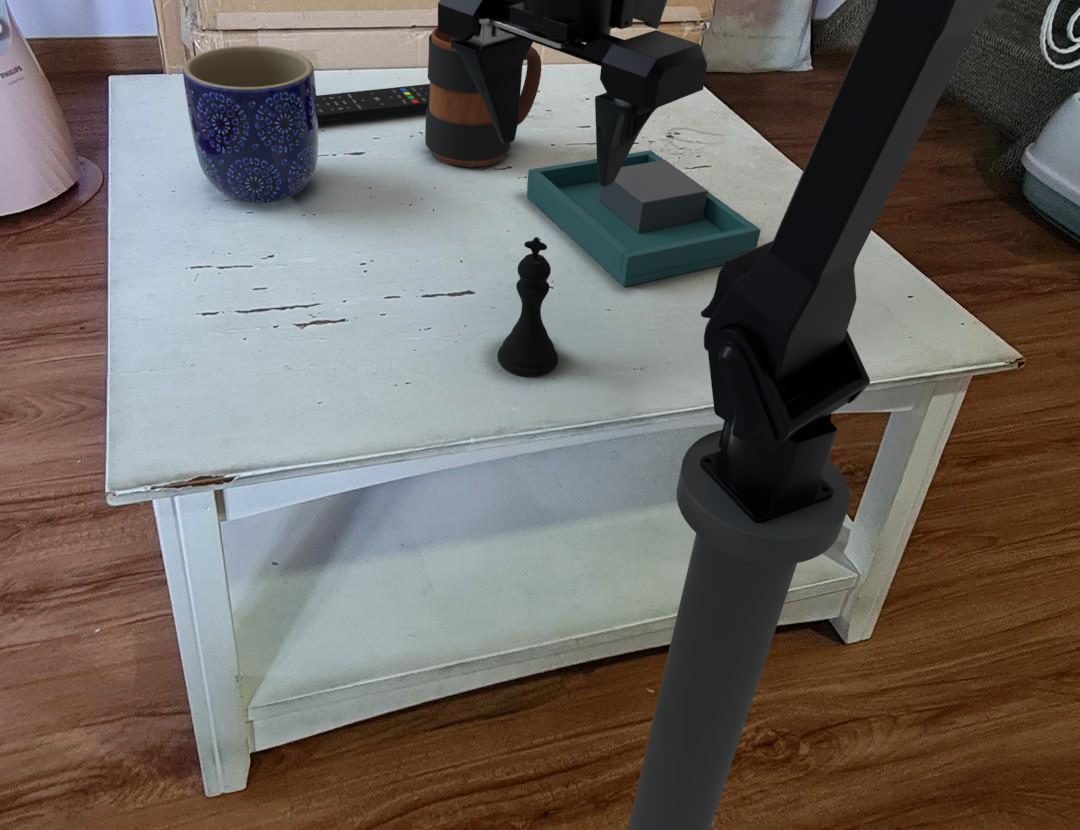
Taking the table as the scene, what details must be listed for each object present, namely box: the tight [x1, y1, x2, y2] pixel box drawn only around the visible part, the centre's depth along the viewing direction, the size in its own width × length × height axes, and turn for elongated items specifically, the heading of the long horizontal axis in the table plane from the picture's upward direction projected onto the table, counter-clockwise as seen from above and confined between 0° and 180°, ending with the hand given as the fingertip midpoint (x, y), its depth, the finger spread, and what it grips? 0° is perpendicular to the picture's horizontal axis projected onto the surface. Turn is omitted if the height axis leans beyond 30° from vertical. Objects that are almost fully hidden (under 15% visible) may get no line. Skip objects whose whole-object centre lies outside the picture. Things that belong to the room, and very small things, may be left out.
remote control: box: [316, 83, 430, 123], centre depth 107 cm, size 5×24×1 cm, turn 116°
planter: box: [182, 45, 319, 204], centre depth 89 cm, size 11×11×11 cm
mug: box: [424, 26, 542, 168], centre depth 98 cm, size 9×12×12 cm
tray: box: [526, 149, 761, 288], centre depth 90 cm, size 18×14×3 cm
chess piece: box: [497, 236, 559, 377], centre depth 70 cm, size 4×4×10 cm
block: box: [599, 159, 709, 233], centre depth 91 cm, size 7×7×3 cm
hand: (555, 162), depth 70 cm, fingers open, 9 cm apart
